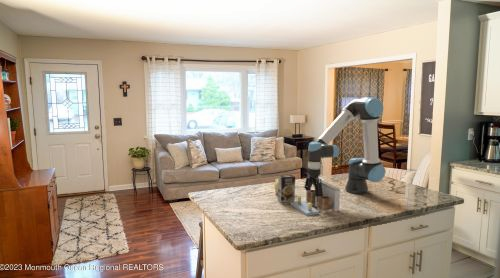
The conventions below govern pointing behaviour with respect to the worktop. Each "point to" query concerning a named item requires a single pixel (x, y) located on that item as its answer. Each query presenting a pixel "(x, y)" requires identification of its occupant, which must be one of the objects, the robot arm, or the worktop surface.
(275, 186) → the sculpture
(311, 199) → the sleeve
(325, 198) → the sleeve
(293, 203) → the pin board
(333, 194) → the feeder housing
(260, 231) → the worktop surface
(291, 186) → the coffee box
